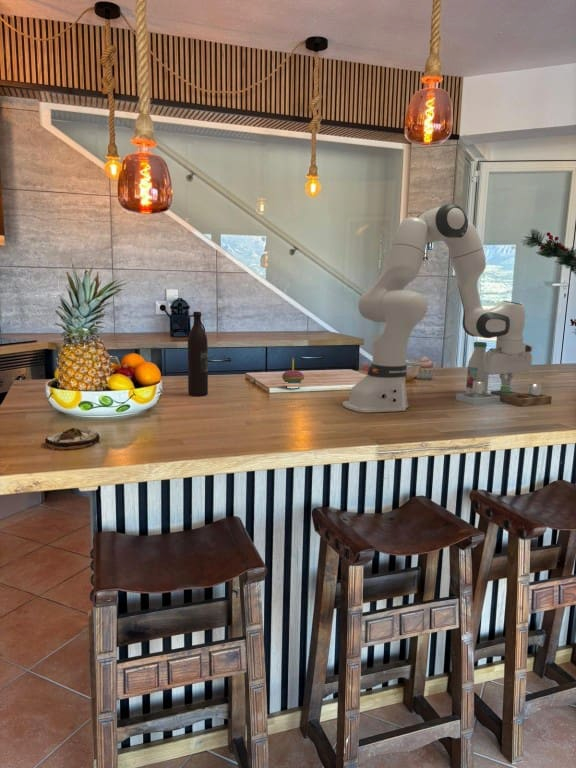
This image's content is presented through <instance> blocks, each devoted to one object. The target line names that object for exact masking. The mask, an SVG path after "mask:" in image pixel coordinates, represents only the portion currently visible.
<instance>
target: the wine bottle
mask: <svg viewBox="0 0 576 768" xmlns="http://www.w3.org/2000/svg"><path fill="white" fill-rule="evenodd" d="M192 317H193V324H192V327H191V330H190V331H189V333H188V336H187V380H188V381H187V392H188V396H191V397H205V396H207V395H208V394H209V384H208V383H209V378H208V377H209V373H208V372H209V369H208V367H209V366H208V364H209V363H208V361H209V360H208V359H209V358H208V357H209V356H208V350H209V349H208V338H207V334H206V331H205V330H204V328H203V325H202V312H201V311H193V313H192Z"/></svg>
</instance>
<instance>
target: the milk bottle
mask: <svg viewBox="0 0 576 768" xmlns="http://www.w3.org/2000/svg"><path fill="white" fill-rule="evenodd" d="M487 346H488V343H487V342H486V341H474V342H473V352H472V354H471V356H470V358H469V361H468V364H467V371H466V372H467V374H466V385H465V386H466V387H465V393H472V390H473V381H475V380H479V381H485V390H484V393H488V389H489V388H488V387H489V377H490V374H485V373H484V371H483V367H484V361H485V357H486V353H487V351H486V349H487Z"/></svg>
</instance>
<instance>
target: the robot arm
mask: <svg viewBox="0 0 576 768" xmlns="http://www.w3.org/2000/svg"><path fill="white" fill-rule="evenodd" d="M437 242H443V243H444V244H445V245H446V246H447V248H448V253H449V257H450V260H451V264H452V268H453V271H454V274H455V278H456V281H457V287H458V290H459V295H460V298H461V299H460V300H461V303H462V309H463V315H462V324H461V325H462V328H463V331H464V332H465V333H466V334H467V335H469V336H470V337H474V338H475V337H477V338H483V339H492V338H496V341H495V342H496V343H495V347H491V348H489V349H488V350H487V351H486V357H485V361H484V367H483V371H484V373H485V374H489V376H490V375H491V376H492V375H499V379H500V381H501V382H500V385H501V386H511V384H512V380H513V378H514V377H515V373H517V374H518V373H529V372H530V371H531V369H532V362H533V355H532V352H533V346H531V345H529V344H527V343H525V342H524V337H523V333H524V329H525V321H526V320H525V319H526V318H525V313H526V312H525V307H524V305H523V304H521V303H519V302H515V301H509V300H508V301H507V300H503V301H501V302H500V303H499V304H497V305H496V306H494V307H491V308H489V309H487V310H485V309H484V308H483V305H482V303H481V297H480V295H479V294H480V293H479V289H478V281H479V279H480V277H481V275H482V274H483V273H484V271H485V269H486V267H487V266H486V264H487V263H486V254H485V251H484V246H483V244H482V243H483V242H482V240H481V237H480V235H479V232H478V230H477V229H476V227H475V225H474V223H473V222H471V220H470V221H469V219H468V217H467V215H466V212H465V211H464V209H463V208H462V207H461V206H460V205H459V204H455V203H447V204H444V205H441V206H438V207H433V208H431V209H427V210H426V211H424V212H422V213H420V214H418V215H417V216H415V217H414V216H409V217H406V218H404V219H403V220H402V221H401V223H400V224H399V226H398V229H397V231H396V233H395V235H394V237H393V241H392V243H391V246H390V247H391V248H390V251H389V253H388V258H387V260H386V263H385V266H384V268H383V270H382V272H381V274H380V275H379V277H378V278H377V280H376V281H375V283H374V284H373V285H372V286H371V287H370V288H369V289H368V290H367V291H365V292H363V293H362V295H360V298H359V301H358V311H359V313H360V315H361V317H363V318H364V319H367V320H369V321H372V322H377V323H385V327H384V329H383V330H382V333H381V334H380V335H378V336H377V337H375V339H374V341H373V342H372V344H373V345H372V363H371V364H370V366H369V365H366V364H363V365H362V368H361V370H362V371H363V372H367V375H366V376H365V377H363V378H362V379H361V380H360V381H358V382H357V383H356V384H355V385H353V386H352V387H351V390H350V392H349V397H348V400H345V401H343V402H342V407H344V408H346V409H348V410H351V411H354V412H358V413H382V412H383V413H385V412H388V413H389V412H404V411H406V410H407V408H409V403H408V397H407V391H406V388H407V387H406V378H407V374H408V373H407V372H408V367H407V366H408V364H407V351H408V343H409V338H410V337H411V334H412V332H413V330H415V329H414V328H415V327H417V325H418V324H419V323H420V322H422V321H423V320H424V319H425V317H426V315H427V311H428V302H427V299H426V297H425V296H424V294H422V293H420V292H418V291H414V290H411V289H405V288H406V287H407V286H408V285H409V284H410V283H411V282H412V283H413V281H415V280H416V279H417V278H418V276H419V273H420V269H421V267H422V262H423V260H424V255H425V251H426V247H427V245H428V244H431V243H437Z"/></svg>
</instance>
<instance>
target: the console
mask: <svg viewBox="0 0 576 768" xmlns="http://www.w3.org/2000/svg"><path fill="white" fill-rule="evenodd" d="M490 394H492V395H496V396H500V402H502V396H503V395H510V394H521V393H520V392H516V391H513V390H510V393H507V394H505V393H501V392H500V390H499V389H498V390H491V391H490Z"/></svg>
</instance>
